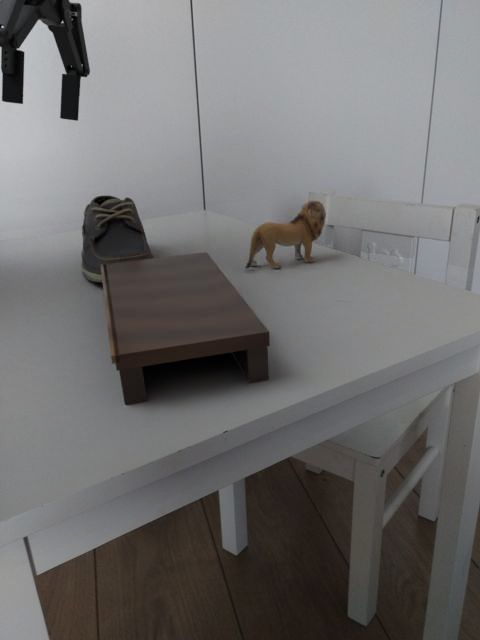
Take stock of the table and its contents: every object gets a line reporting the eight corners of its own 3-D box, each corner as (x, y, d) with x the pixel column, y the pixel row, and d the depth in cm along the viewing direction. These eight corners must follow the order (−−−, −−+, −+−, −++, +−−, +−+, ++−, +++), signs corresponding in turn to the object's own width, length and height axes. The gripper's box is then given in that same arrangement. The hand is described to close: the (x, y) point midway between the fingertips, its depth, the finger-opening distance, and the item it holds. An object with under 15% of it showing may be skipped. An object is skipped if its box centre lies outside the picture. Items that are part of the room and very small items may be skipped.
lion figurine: (313, 251, 95) (313, 196, 91) (333, 258, 91) (334, 201, 87) (237, 268, 88) (233, 209, 85) (255, 276, 84) (252, 215, 80)
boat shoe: (94, 299, 78) (80, 220, 73) (68, 251, 102) (56, 189, 98) (171, 286, 82) (163, 210, 77) (128, 242, 106) (120, 183, 102)
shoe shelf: (106, 300, 77) (100, 264, 75) (209, 286, 81) (206, 252, 79) (119, 406, 51) (110, 355, 49) (271, 379, 55) (269, 331, 52)
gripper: (13, -100, 66) (8, 96, 71) (117, -16, 89) (108, 127, 95) (-43, -102, 67) (-43, 90, 73) (75, -19, 91) (68, 122, 96)
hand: (42, 112), depth 84 cm, fingers open, 13 cm apart
